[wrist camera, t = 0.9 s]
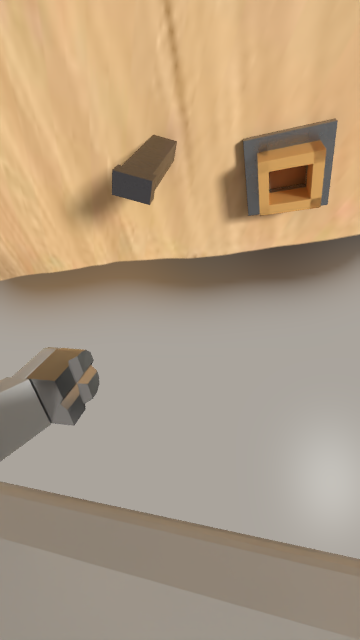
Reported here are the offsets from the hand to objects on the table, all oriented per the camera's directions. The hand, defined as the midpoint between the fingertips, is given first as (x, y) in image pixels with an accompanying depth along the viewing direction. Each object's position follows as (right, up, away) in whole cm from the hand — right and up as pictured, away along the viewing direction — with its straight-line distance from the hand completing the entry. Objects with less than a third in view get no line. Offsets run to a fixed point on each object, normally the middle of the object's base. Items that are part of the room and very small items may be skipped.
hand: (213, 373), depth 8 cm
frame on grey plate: (+17, +26, +38) cm, 49 cm away
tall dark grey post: (-4, +31, +39) cm, 50 cm away
